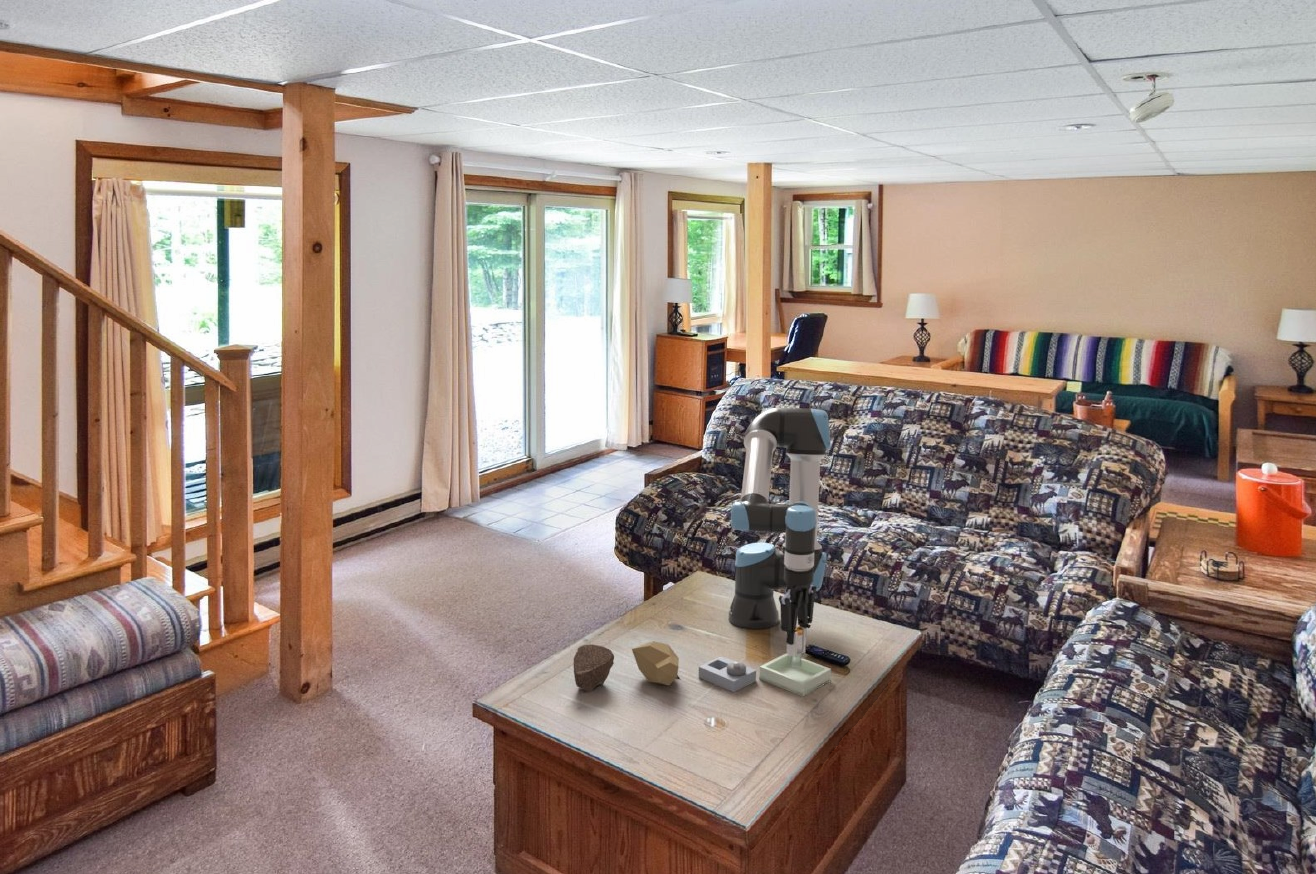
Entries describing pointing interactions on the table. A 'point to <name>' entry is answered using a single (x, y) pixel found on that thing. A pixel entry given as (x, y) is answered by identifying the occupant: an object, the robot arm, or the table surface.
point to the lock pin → (796, 661)
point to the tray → (795, 675)
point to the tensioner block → (727, 673)
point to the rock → (592, 666)
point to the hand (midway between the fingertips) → (795, 652)
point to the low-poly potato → (657, 662)
